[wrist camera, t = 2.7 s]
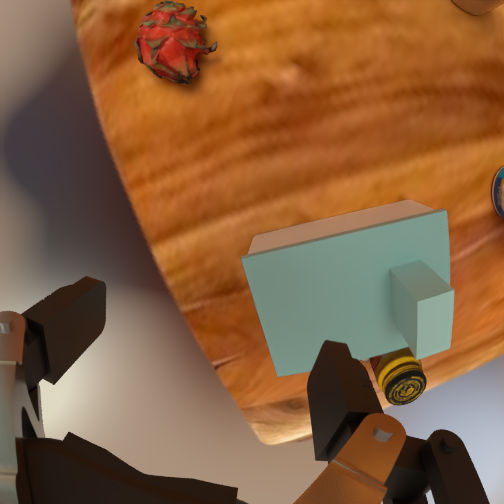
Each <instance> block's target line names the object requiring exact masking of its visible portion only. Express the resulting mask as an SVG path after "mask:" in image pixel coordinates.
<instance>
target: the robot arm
mask: <svg viewBox="0 0 504 504" xmlns="http://www.w3.org/2000/svg"><path fill="white" fill-rule="evenodd" d="M452 1H453V2H454V3H455V4H456V5H457V6H459V7H460V8H461V9H463V10H464V11H466V12H468V13H470V14H473V15H483V14H484V13H486V12H488V11H491V10H493V9H494V8H496V7H498V6H500V5H502V4H503V3H504V0H452ZM105 321H106V285H105V283H104V282H103V281H100V280H97V279H94V278H91V277H88V276H86V277H84V278H82V279H81V280H79V281H77V282H76V283H74V284H73V285H68V286H65V287H61V288H59V289H58V290H56V291H55V292H53V293H52V294H51V295H49V296H47V297H46V298H45V299H44V300H41V301H39V302H38V303H37V304H35V305H34V306H32V307H31V308H29V309H28V310H26V311H25V312H24V313H22V314H19V313H17V312H13V311H2V312H0V504H248V503H246V502H244V501H241V500H239V499H237V491H238V488H236V487H230V486H224V485H219V484H214V483H210V482H205V481H201V480H197V479H190V478H175V477H164V476H154V475H147V474H144V473H142V472H140V471H138V470H136V469H135V468H133V467H131V466H130V465H128V464H127V463H125V462H124V461H122V460H121V459H119V458H118V457H116V456H115V455H113V454H112V453H110V452H109V451H107V450H106V449H104V448H102V447H100V446H97V445H95V444H93V443H91V442H89V441H87V440H84V439H83V438H80V437H78V436H76V435H74V434H73V433H71V432H68V434H67V435H66V437H65V438H64V440H63V441H62V440H57V439H52V438H45V434H44V428H43V420H42V409H41V396H40V386H39V382H40V381H41V380H42V379H44V380H46V381H48V382H50V383H52V384H53V385H54V384H55V383H56V382H57V381H58V380H59V379H60V378H61V377H62V376H63V374H64V373H65V372H66V371H67V370H68V369H69V368H70V367H71V366H72V365H73V364H74V362H75V361H76V360H77V359H78V358H79V357H80V356H81V355H82V354H83V353H84V351H85V350H86V349H87V348H88V347H89V346H90V345H91V344H92V343H93V342H94V341H95V340H96V339H97V338H98V336H99V335H100V334H101V333H102V331H103V329H104V326H105ZM369 379H370V377H369V375H368V372H367V370H366V368H365V367H364V366H363V365H362V364H361V362H360V361H359V360H358V359H355V358H352V355H351V353H350V350H349V348H348V345H347V344H346V343H342V342H336V341H331V340H325V341H324V343H323V344H322V347H321V349H320V351H319V354H318V356H317V359H316V361H315V363H314V366H313V368H312V370H311V372H310V375H309V378H308V383H307V393H308V401H309V409H310V417H311V425H312V434H313V442H314V452H315V460H317V461H328V466H327V467H326V469H325V470H324V471H323V472H322V473H321V474H320V475H319V477H318V478H317V479H316V480H315V481H314V482H313V483H312V484H311V486H310V487H309V488H308V489H307V490H306V491H305V492H304V493H303V494H302V495H301V496H300V497H299V498H298V499H297V500H296V502H294V503H293V504H380V503H381V502H382V500H383V504H428V501H427V498H426V493H427V492H428V491H429V490H431V491H432V495H433V498H434V502H435V504H489V501H488V498H487V496H486V493H485V491H484V488H483V486H482V483H481V481H480V478H479V476H478V474H477V471H476V469H475V467H474V464H473V462H472V461H471V458H470V456H469V453H468V451H467V449H466V447H465V445H464V443H463V441H462V440H461V439H460V438H459V437H458V436H457V435H456V434H454V433H453V432H451V431H448V430H443V429H440V430H436V431H434V432H433V433H432V434H431V435H430V437H429V438H428V439H427V440H423V439H419V438H415V437H410V436H407V435H406V432H405V429H404V427H403V426H402V424H401V423H400V422H399V421H397V420H396V419H395V418H393V417H391V416H389V415H386V414H384V412H383V410H382V407H381V405H380V402H379V400H378V397H377V395H376V392H375V390H374V388H373V385H372V382H371V380H369Z"/></svg>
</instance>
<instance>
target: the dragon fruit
mask: <svg viewBox="0 0 504 504" xmlns="http://www.w3.org/2000/svg"><path fill="white" fill-rule="evenodd" d="M164 2H165V4H164V3H163V2H160V3H159V4H157V5H156V6H155V7H154V8H153V11H152V12H149V13H147V14H146V15H145V16H144V17H143V19H142V20H143V21H142V23H143V24H142V25H141V26H140V27H139V30H140V31H139V33H138V35H137V36H136V38H135V40H134V46H135V47H136V50H137V54H138V60H139V61H140V63H142V64H144V65H146V66H147V67H148V68H149V69H150V70H151V71H152V72H153V73H155V74H156V73H157V74H156V75H157V76H158V77H159V78H161V79H162V77H165V78H168V79H170V80H172V81H173V82H175V83H185V84H191V81H186V80H183V78H182V77H180V76H185V77H187V79H188V80H190V79H191V78H193V77H194V76H195V75H196V74H197V73H198V71H200V69H199V68H198V61H197V60H198V59H197V60H196V62H195V57H196V54H197V53H200V52H202V53H203V54H206V55H208V53H211V52H213V51H216V48H217V42H215V43H214V44H213V45H212V46H211V47H210V48H207V47H206V46H204V45H203V44H204V42H205V40H206V39H205V38H203V37H202V36H201V35H199V32H200V31H203V30H204V29H206V28H207V25H206V24H205V22H206V19H207V18H206V17H205V16H203V15H200V16H201V18H202V19H203V21H197V20H195V19H194V17H195V15H196V12H197V10H194V9H193V8H194V7H189V8H186V6H185V5H184V4H183V3H177V2H175V1H166V0H164ZM161 76H162V77H161Z"/></svg>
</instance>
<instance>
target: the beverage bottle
mask: <svg viewBox="0 0 504 504" xmlns="http://www.w3.org/2000/svg"><path fill="white" fill-rule="evenodd" d="M492 198H493V203H494V207H495V209H496V211H497V213H498V214H499V215H500V216H501V217H502V218H503V219H504V166H503V167H502V168H501V169H500V170H499V171H498V172H497V174H496V176H495V179H494V182H493V187H492Z"/></svg>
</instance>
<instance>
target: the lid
mask: <svg viewBox="0 0 504 504" xmlns="http://www.w3.org/2000/svg"><path fill="white" fill-rule="evenodd" d="M241 260H242V264H243V267H244V270H245V274H246V277H247V280H248V283H249V287H250V290H251V293H252V296H253V300H254V303H255V306H256V309H257V312H258V316H259V319H260V322H261V325H262V328H263V332H264V335H265V338H266V341H267V344H268V348H269V351H270V354H271V357H272V360H273V363H274V366H275V370H276V373H277V376H278V377H281V376H287V375H293V374H298V373H304V372H309V371H311V370H312V368H313V366H314V363H315V361H316V359H317V356H318V354H319V351H320V349H321V347H322V344H323V343H324V341H325V340H331V341H336V342H342V343H346V344H347V345H348V348H349V350H350V353H351V355H352V358H355V359H358V360H363V359H367V358H370V357H374V356H378V355H382V354H385V353H389V352H392V351H396V350H399V349H402V348H406V347H409V348H410V350H411V352H412V354H413V355H414V357H415V359H416V360H419V359H422V358H425V357H428V356H430V355H433V354H436V353H439V352H442V351H444V350H447V349H450V343H451V334H452V323H453V309H454V289H453V288H452V287H451V286H450V249H449V231H448V218H447V210H445V209H442V208H441V209H437V210H433V211H429V212H425V213H420V214H416V215H412V216H408V217H403V218H399V219H395V220H391V221H387V222H382V223H378V224H374V225H370V226H365V227H361V228H357V229H353V230H348V231H344V232H340V233H336V234H332V235H327V236H323V237H319V238H315V239H310V240H306V241H302V242H298V243H293V244H289V245H285V246H281V247H276V248H272V249H268V250H264V251H259V252H255V253H251V254H247V255H242V258H241Z"/></svg>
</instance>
